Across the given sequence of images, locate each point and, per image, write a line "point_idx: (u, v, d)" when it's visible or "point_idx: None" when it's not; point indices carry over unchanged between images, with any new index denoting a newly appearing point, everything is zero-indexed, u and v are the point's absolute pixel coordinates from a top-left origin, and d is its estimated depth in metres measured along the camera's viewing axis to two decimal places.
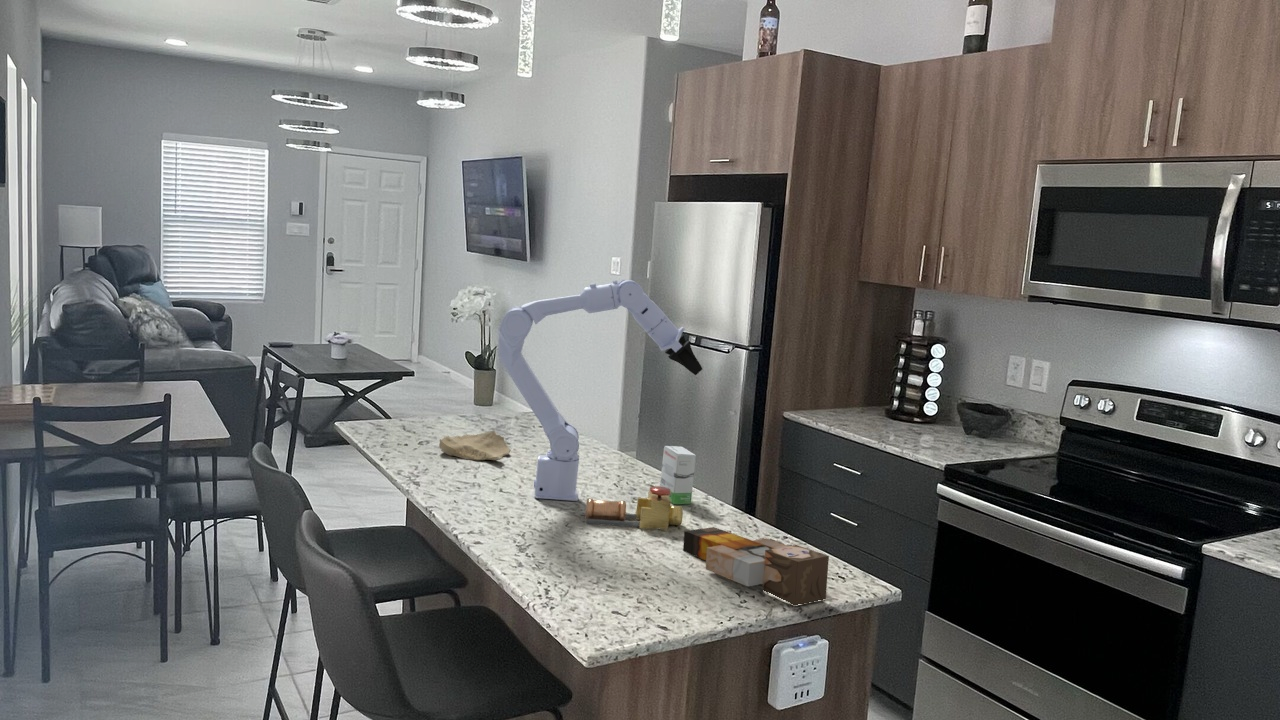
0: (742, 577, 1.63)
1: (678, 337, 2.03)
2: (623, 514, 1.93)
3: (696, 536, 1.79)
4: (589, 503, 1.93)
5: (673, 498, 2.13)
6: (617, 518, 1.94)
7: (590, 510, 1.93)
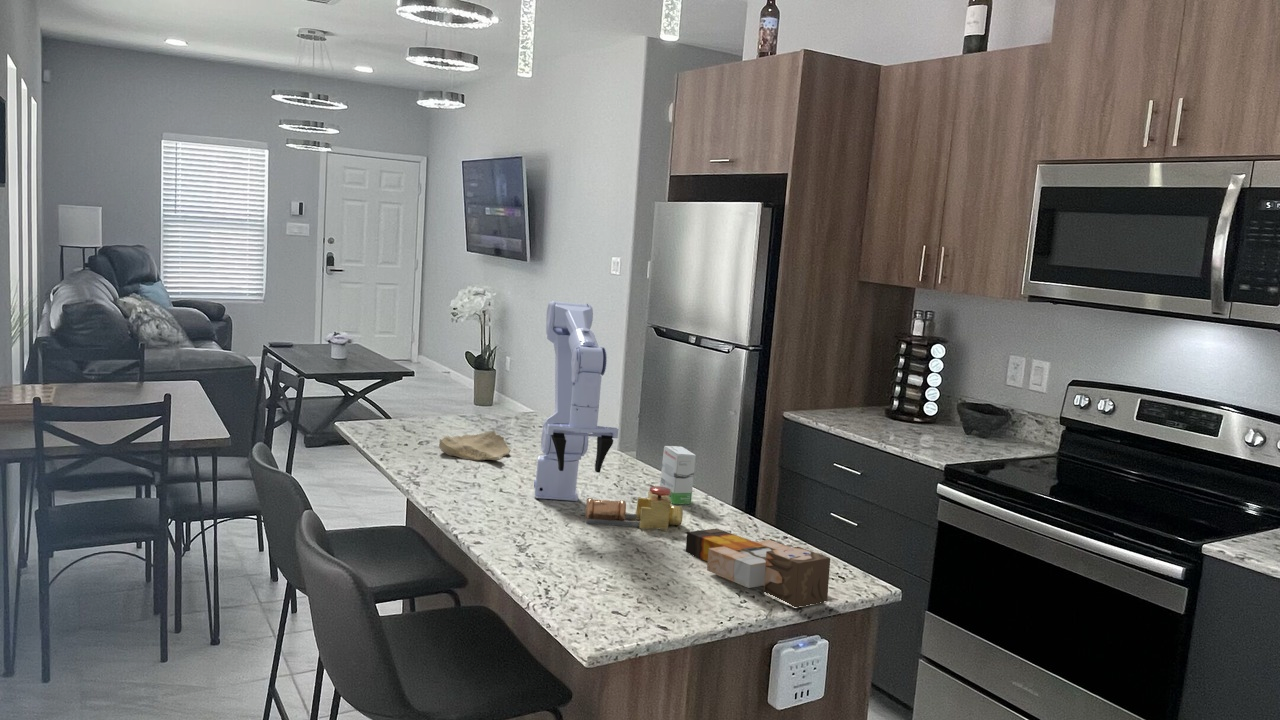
0: (743, 579, 1.63)
1: (563, 428, 1.89)
2: (623, 512, 1.94)
3: (699, 537, 1.78)
4: (589, 501, 1.94)
5: (673, 498, 2.13)
6: (617, 517, 1.94)
7: (590, 508, 1.93)
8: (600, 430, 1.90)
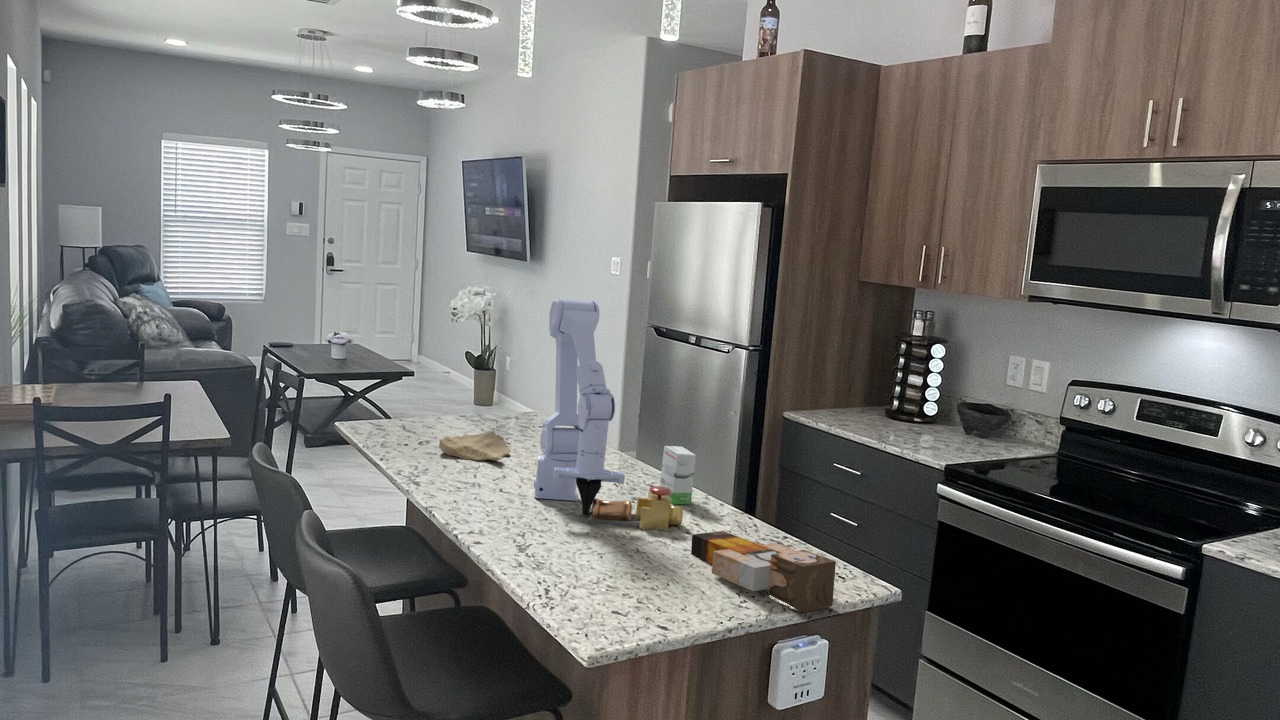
0: (747, 582, 1.61)
1: (568, 473, 1.91)
2: (629, 513, 1.94)
3: (704, 540, 1.77)
4: (595, 502, 1.94)
5: (673, 498, 2.13)
6: (623, 517, 1.94)
7: (596, 508, 1.93)
8: (605, 476, 1.92)
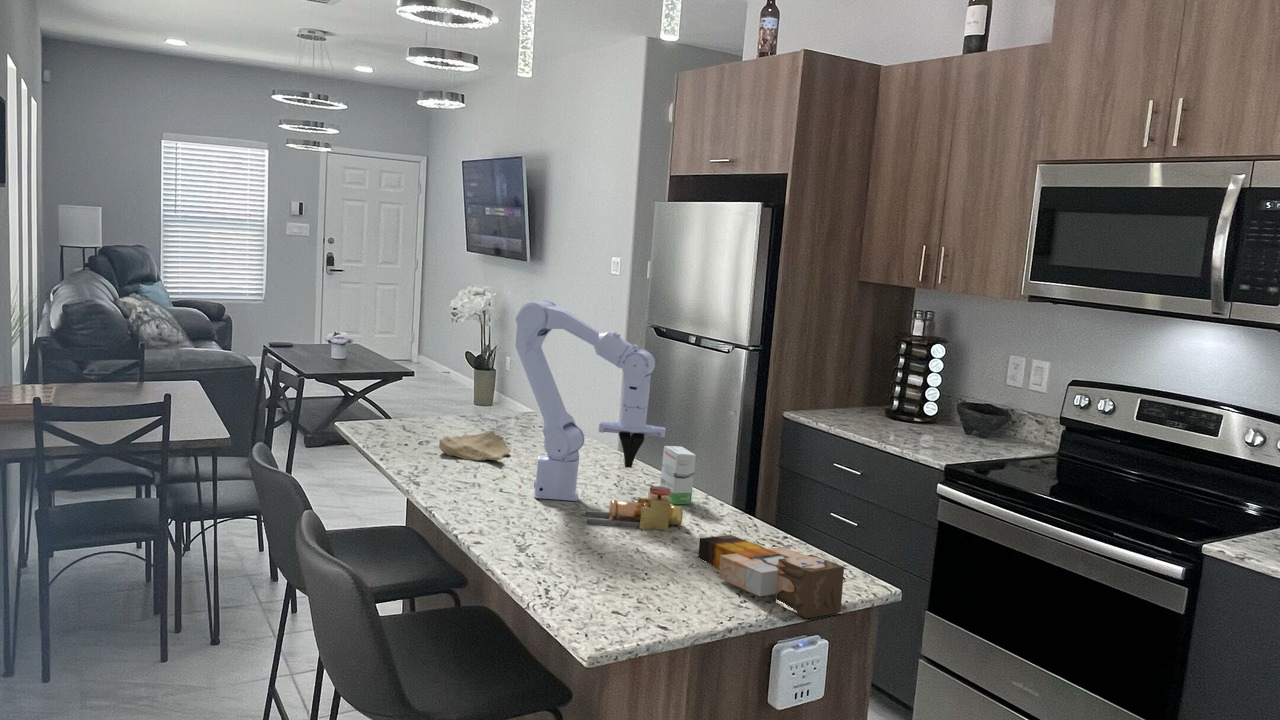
0: (754, 587, 1.59)
1: (613, 427, 2.01)
2: None
3: (711, 544, 1.75)
4: (613, 503, 1.94)
5: (673, 498, 2.13)
6: None
7: (614, 510, 1.94)
8: (648, 430, 2.02)
